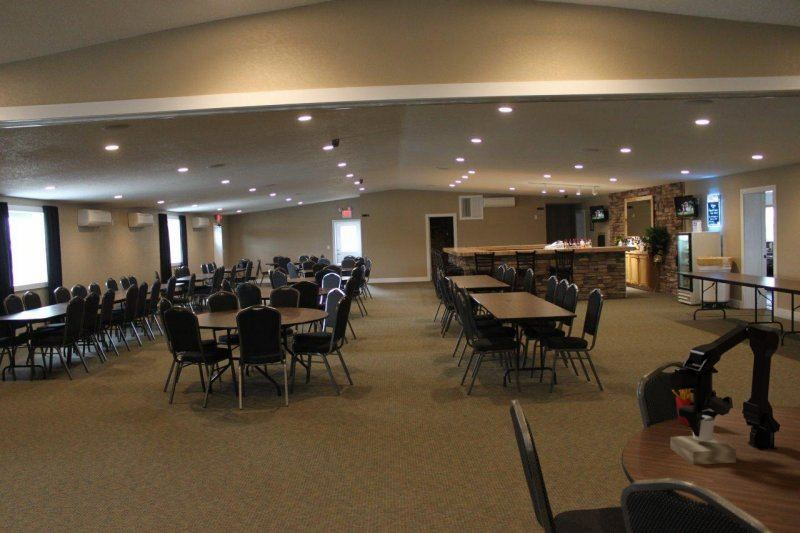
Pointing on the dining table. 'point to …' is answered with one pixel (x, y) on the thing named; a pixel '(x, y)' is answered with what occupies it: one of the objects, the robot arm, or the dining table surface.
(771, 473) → the dining table surface
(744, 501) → the dining table surface
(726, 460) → the birch block
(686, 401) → the french fries
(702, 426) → the white cup
